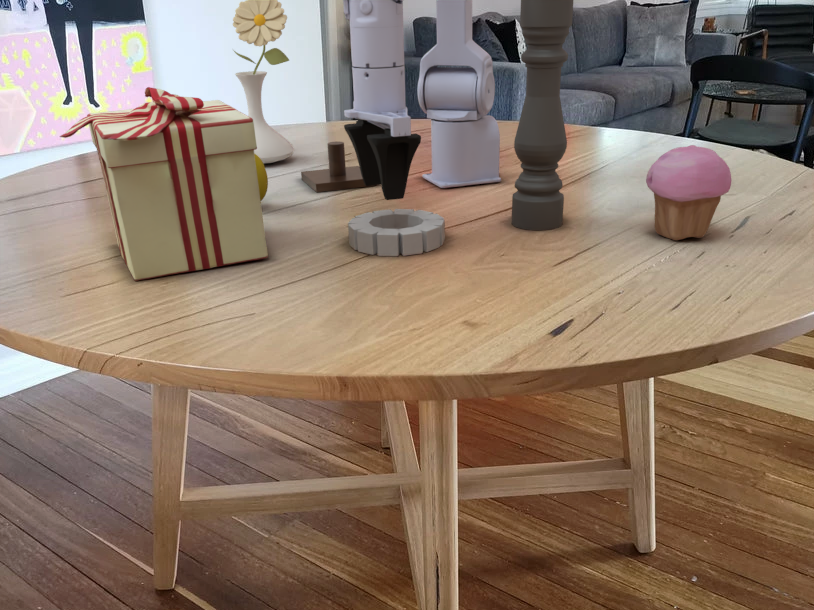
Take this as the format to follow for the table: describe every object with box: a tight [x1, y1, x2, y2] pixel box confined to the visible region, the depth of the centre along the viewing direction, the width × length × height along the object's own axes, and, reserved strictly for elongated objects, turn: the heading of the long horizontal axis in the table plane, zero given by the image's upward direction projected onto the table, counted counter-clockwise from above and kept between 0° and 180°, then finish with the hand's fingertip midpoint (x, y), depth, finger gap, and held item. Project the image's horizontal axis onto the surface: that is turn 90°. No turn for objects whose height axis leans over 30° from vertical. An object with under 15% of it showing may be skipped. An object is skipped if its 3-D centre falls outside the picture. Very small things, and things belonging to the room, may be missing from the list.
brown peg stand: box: [300, 141, 377, 193], centre depth 121 cm, size 9×9×6 cm
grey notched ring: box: [347, 208, 446, 257], centre depth 94 cm, size 11×11×2 cm
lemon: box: [254, 154, 269, 202], centre depth 108 cm, size 6×6×8 cm
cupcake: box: [645, 144, 732, 241], centre depth 91 cm, size 9×9×10 cm
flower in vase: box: [232, 0, 295, 165], centre depth 131 cm, size 13×11×25 cm
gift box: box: [59, 86, 269, 282], centre depth 88 cm, size 17×18×17 cm
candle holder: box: [511, 0, 574, 231], centre depth 94 cm, size 6×6×25 cm
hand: (383, 191), depth 96 cm, fingers open, 7 cm apart
